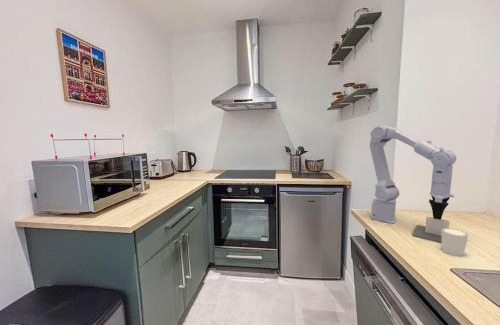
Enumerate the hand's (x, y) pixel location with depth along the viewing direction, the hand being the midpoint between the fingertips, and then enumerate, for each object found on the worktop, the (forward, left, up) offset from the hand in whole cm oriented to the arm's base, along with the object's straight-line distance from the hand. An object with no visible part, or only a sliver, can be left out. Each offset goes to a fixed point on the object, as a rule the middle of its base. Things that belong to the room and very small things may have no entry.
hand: (437, 216), depth 89 cm
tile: (0, 0, -7) cm, 7 cm away
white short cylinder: (+5, -12, -8) cm, 15 cm away
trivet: (0, -1, -8) cm, 8 cm away
